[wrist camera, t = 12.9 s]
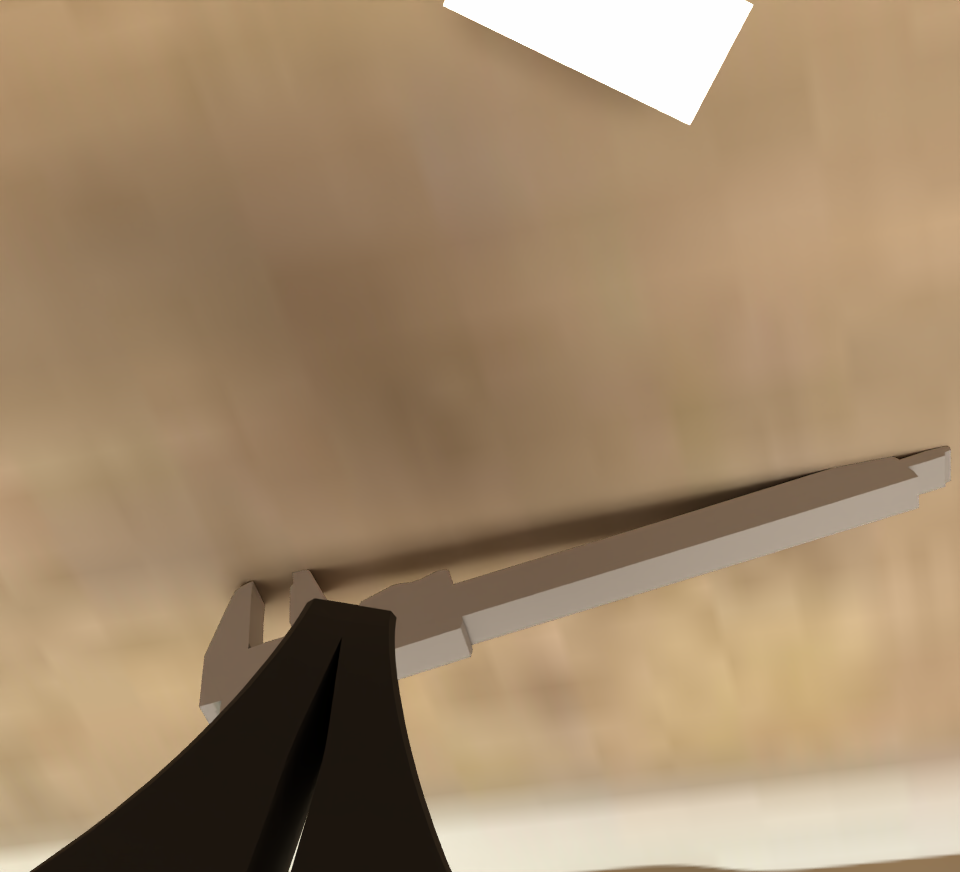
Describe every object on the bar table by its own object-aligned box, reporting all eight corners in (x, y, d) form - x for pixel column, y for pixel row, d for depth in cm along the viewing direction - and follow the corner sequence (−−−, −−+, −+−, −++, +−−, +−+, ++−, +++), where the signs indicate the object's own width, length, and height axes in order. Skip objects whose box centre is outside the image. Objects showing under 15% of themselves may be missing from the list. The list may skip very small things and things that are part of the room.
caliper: (254, 603, 26) (181, 772, 20) (240, 577, 26) (161, 743, 20) (943, 471, 23) (1083, 630, 17) (944, 438, 22) (1087, 590, 17)
